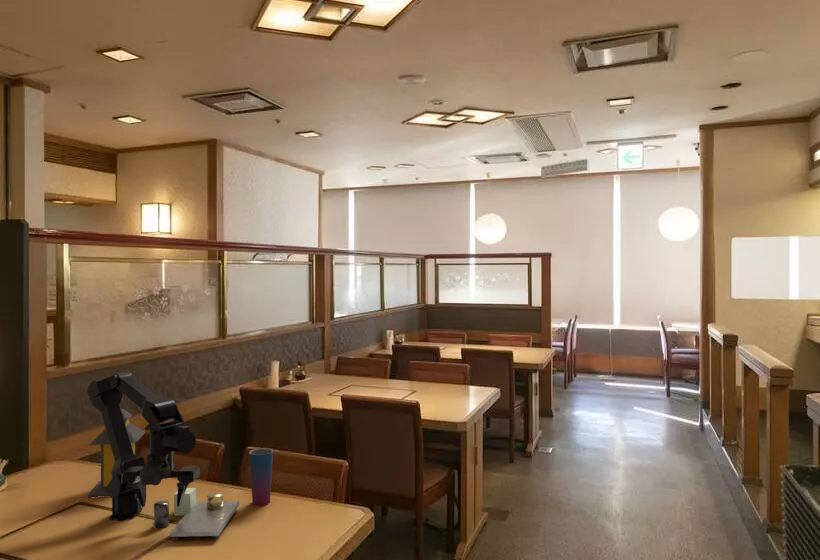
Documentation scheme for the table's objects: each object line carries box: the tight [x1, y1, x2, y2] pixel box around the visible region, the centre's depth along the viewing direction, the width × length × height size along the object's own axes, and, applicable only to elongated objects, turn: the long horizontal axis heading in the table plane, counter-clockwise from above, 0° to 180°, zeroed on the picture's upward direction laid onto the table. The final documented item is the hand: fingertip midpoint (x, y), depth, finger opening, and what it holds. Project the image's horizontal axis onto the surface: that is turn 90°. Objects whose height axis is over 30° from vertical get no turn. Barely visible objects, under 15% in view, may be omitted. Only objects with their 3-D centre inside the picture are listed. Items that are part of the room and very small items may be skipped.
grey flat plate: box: [169, 500, 241, 540], centre depth 152 cm, size 12×20×2 cm, turn 2°
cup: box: [248, 447, 274, 507], centre depth 167 cm, size 7×7×15 cm
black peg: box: [153, 500, 170, 530], centre depth 151 cm, size 4×4×6 cm
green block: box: [173, 487, 197, 516], centre depth 160 cm, size 4×4×6 cm
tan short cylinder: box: [206, 491, 224, 509], centre depth 159 cm, size 4×4×3 cm
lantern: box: [87, 396, 146, 498], centre depth 180 cm, size 14×14×30 cm
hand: (161, 506), depth 151 cm, fingers open, 9 cm apart
